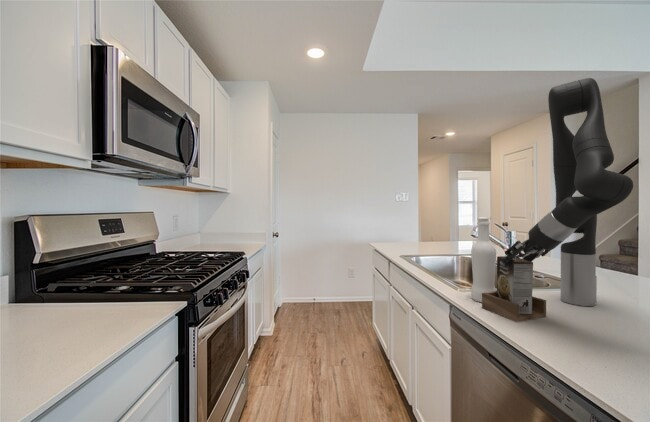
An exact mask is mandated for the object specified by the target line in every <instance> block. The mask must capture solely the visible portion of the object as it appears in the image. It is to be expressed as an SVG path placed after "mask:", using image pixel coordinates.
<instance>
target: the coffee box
mask: <svg viewBox="0 0 650 422" xmlns="http://www.w3.org/2000/svg"><path fill="white" fill-rule="evenodd" d="M506 256H507V255H505V256H503V255H502V256H496V266H497V267H496V291H497V297H498V298H501V299H504V300H507V301H510V302H513V303H516V304H519V314H532V296H533V283H534V282H533V281H534V279H533V278H534V262H533V261H532V262H530V261H527V260H524V259H523V258H522V257H520V258H518V259H516V260H515V261H514V262H513V263H511V264H510V265H509V266H507V267H506V266H505V265H504V264H503V263H502V260H503V259H504V258H505V257H506Z"/></svg>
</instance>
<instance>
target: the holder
mask: <svg viewBox="0 0 650 422" xmlns="http://www.w3.org/2000/svg"><path fill="white" fill-rule="evenodd" d="M481 308H482V309H484V310H486V311H489V312H491V313H493V314H496V315H498V316H500V317H503V318H506V319H508V320H510V321H513V322H515V323H519V322H524V321H529V320H530V321H531V320H534V319H540V318H541V319H542V318H547V300H546V299H542V298H539V297H536V296H533V295H532V314H519V304H516V303H513V302H510V301H507V300H504V299H501V298H498V297H497V290H496V291H493V292H486V293H482V303H481Z"/></svg>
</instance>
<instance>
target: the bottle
mask: <svg viewBox="0 0 650 422" xmlns="http://www.w3.org/2000/svg"><path fill="white" fill-rule="evenodd" d="M489 220H490V219H489V217H488V216H479V217H477V240H476V241H475V242H474V244H473V245H472V247H471V251H470V252H471V253H470V255H471V256H470V257H471V268H472V269H471V270H472V271H471V272H472V286H471V289H470V295H471V298H472V300H473V301H476V302H478V303H480V304H482V293H486V292H493V291H497V288H496V286H495V282H496V281H495V280H496V279H495V278H496V266H497V249H496V247H495V245H494V244H493V242H491V240H490V221H489Z"/></svg>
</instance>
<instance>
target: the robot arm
mask: <svg viewBox="0 0 650 422" xmlns="http://www.w3.org/2000/svg"><path fill="white" fill-rule="evenodd" d="M547 101H548V112H549V118H550V119H549V120H550V127H551V134H552V154H553V155H552V163H553V174H554V176H553V177H554V187H555V207H554V208H553V209H552V210H551V211H550V212H548V213H547V214H546V215H544V216H543V217H542V218H541V219H540V220H539V221H538V222H537V223H536V224H535V225H534V226H533V227H532V228H530V229H529V231H528V235H527V236H528V239H526V240H523V242H521V241H520V240H517V241H515V242H514V243H513V244H512V245H511V246H510V247H509V248H508V249H506V251H504V254H505V256H506V257H505V258H504V259H503V260H502V263H503V264H504V265H505V266H506V267H507V266H509V265H510V264H511V263H513V262H514V261H515V260H516V259H518V258H521V259H524V260H527V261H530V262H533V261H534V260H535V259H538V258H540V257H545V256H546V255H547V254H548V253H549V252H551V251H552V250H554V249H555V248H557V247H558V246H559V245H560V300H561V301H562V302H564V303H568V304H571V305H575V306H582V307H592V306H593V307H594V306H596V303H597V298H598V297H597V289H598V287H597V286H598V285H597V281H598V280H597V273H596V268H597V265H596V264H597V263H596V261H597V260H596V258H597V257H596V256H597V255H596V254H597V253H596V252H597V250H596V249H597V248H596V245H597V244H596V239H597V238H596V237H597V225H598V223H597V222H598V215H599V214H601V213H603V212H605V211H608V210H609V209H612V208H614V207H615V206H617V205H619V204H621V203H622V202H624V201H625V200H626V199H627V198H628V197H629V196H630V194H631V193H632V191H633V189H634V182H633V180H632V178H630V177H629V176H627V175H625V174H622V173H619V172H616V171H611V170H608V168H609V167H610V166H611V165H612V164H613V163H614V160H615V155H614V152H613V148H612V146H611V143H610V141H609V137H608V135H607V130H606V126H605V125H606V124H605V123H606V122H605V115H604V109H603V104H602V102H603V101H602V96H601V91H600V87H599V85H598V82H597V81H596V79H594V78H592V77H587V78H581V79H578V80H573V81H570V82H567V83H563V84H559V85H556V86H553V87H552V88H551V89H550V90H549V92H548V98H547ZM585 112H586V116H585V119H584V120H583V122H582V124H581V126H579V128H578V130H577V132H576V133H575V135H574V134H573V132H572V131H571V130H570V129H569V128H568V126H567V124H566V123H565V117H568V116H573V115H576V114H581V113H585ZM576 192H578V193H579V194H580V195H582V196H574V195H575V193H576ZM573 234H583V236H582V237H579V238H578V239H576V240H572V241H568V242H564V241H566V240H567V239H568V238H569V237H570V236H571V235H573ZM563 242H564V243H563Z"/></svg>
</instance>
